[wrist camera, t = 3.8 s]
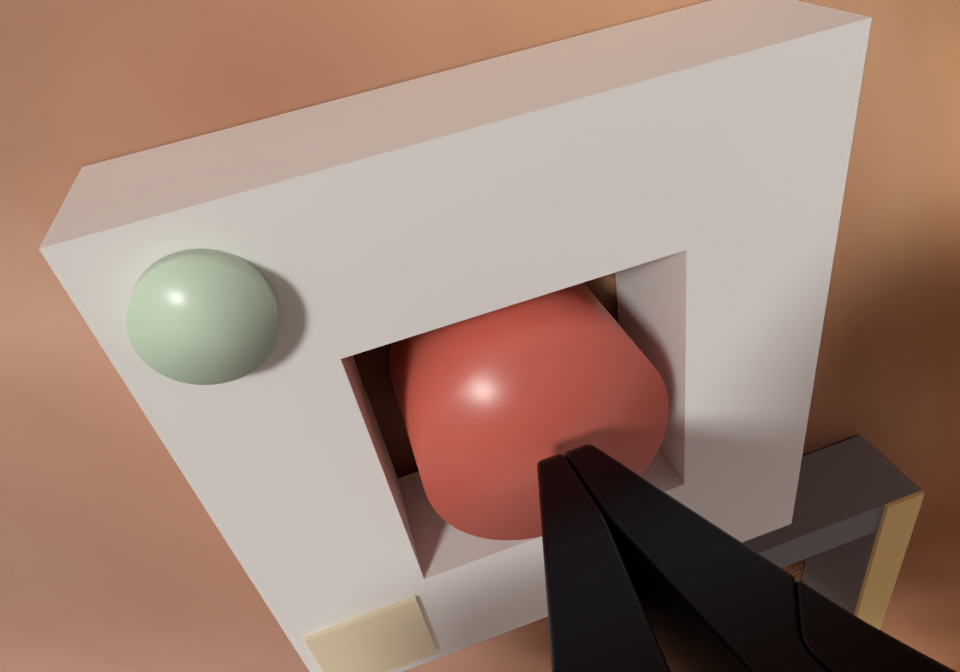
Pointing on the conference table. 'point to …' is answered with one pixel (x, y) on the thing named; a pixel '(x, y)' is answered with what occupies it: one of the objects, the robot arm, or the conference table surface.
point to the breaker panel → (475, 293)
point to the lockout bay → (848, 527)
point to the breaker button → (522, 405)
